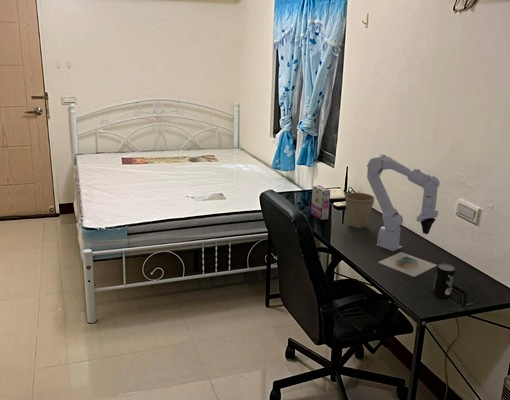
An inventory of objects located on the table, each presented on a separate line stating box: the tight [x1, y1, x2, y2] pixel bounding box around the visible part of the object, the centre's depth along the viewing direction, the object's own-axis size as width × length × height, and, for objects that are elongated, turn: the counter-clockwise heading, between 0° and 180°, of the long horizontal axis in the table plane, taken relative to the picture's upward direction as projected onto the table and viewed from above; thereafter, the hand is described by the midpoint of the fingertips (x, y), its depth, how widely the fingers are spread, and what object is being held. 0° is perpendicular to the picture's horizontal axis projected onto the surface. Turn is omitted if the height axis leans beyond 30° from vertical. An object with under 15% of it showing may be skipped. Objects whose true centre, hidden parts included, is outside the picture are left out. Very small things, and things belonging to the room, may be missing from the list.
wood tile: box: [395, 257, 418, 269], centre depth 215 cm, size 6×2×8 cm
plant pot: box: [344, 192, 376, 229], centre depth 259 cm, size 15×15×16 cm
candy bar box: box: [310, 184, 331, 221], centre depth 271 cm, size 11×5×16 cm, turn 25°
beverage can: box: [432, 263, 456, 300], centre depth 188 cm, size 7×7×12 cm
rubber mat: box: [377, 251, 438, 278], centre depth 216 cm, size 18×18×1 cm
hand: (425, 233), depth 224 cm, fingers closed
